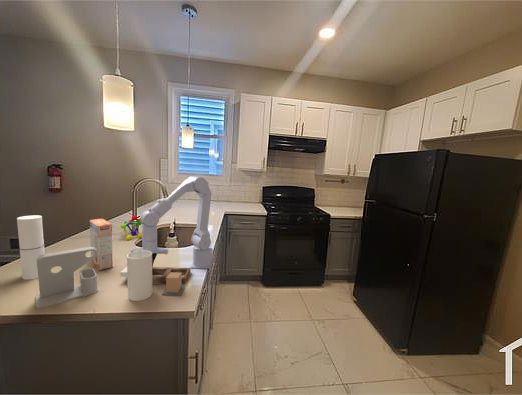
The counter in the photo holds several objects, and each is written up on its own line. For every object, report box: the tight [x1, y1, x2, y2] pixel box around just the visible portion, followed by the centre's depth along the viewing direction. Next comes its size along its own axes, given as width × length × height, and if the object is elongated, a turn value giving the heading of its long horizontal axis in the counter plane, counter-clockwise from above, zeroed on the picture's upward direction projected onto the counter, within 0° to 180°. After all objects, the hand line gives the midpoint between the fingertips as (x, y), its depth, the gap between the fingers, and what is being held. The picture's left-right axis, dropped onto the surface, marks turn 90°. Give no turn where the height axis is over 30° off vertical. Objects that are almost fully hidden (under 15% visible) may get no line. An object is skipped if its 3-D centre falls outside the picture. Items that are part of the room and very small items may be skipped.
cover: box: [119, 266, 127, 278], centre depth 99 cm, size 9×9×2 cm
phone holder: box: [35, 246, 98, 309], centre depth 84 cm, size 17×10×18 cm, turn 133°
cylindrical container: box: [16, 214, 46, 281], centre depth 95 cm, size 7×7×25 cm
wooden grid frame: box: [152, 266, 192, 285], centre depth 101 cm, size 18×10×2 cm, turn 94°
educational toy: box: [120, 215, 142, 241], centre depth 150 cm, size 16×13×15 cm
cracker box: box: [89, 218, 114, 271], centre depth 109 cm, size 14×6×21 cm, turn 47°
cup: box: [126, 250, 153, 302], centre depth 86 cm, size 8×8×16 cm
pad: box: [161, 284, 186, 296], centre depth 92 cm, size 7×7×1 cm
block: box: [165, 272, 183, 293], centre depth 91 cm, size 4×4×6 cm
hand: (150, 269), depth 100 cm, fingers closed
